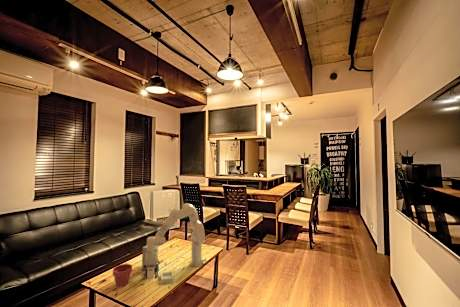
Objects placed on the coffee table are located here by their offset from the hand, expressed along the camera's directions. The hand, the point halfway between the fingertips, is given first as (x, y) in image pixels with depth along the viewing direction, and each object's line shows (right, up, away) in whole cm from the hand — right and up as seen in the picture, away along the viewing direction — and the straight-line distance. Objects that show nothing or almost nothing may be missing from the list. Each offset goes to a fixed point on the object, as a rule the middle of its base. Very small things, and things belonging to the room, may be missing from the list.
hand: (151, 272), depth 191 cm
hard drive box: (-7, -3, +16) cm, 18 cm away
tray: (+16, -2, -6) cm, 17 cm away
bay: (0, -3, 0) cm, 3 cm away
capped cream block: (0, -3, 0) cm, 3 cm away
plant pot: (-19, -2, -13) cm, 23 cm away
